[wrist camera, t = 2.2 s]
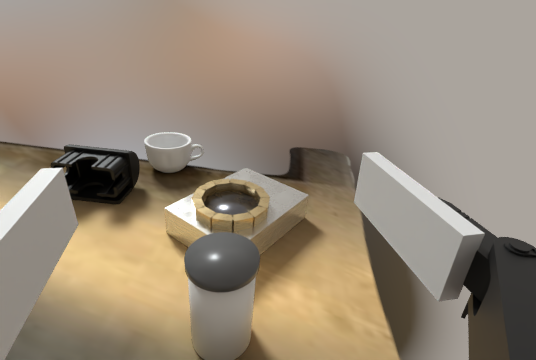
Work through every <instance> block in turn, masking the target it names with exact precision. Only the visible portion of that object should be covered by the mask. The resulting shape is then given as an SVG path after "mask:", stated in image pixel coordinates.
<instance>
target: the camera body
mask: <svg viewBox="0 0 536 360" xmlns="http://www.w3.org/2000/svg"><path fill="white" fill-rule="evenodd" d="M308 197H309V195H307V194H305V193H303V192H300V191H298V190H296V189H294V188H291V187H289V186H287V185H284V184H282V183H280V182H277V181H275V180H273V179H271V178H268V177H266V176H264V175H261V174H259V173H257V172H255V171H252V170H250V169H248V168H244V169H242V170H240V171H238V172H236V173H234V174H232V175H230V176H228V177H226V178H224V179H221V180H214V181H213V182H212V181H210V182H208V183H206V184H204V185H202V186H200V187H198V188H197V190H196V191H195V193H194V194H192V195H190V196H188V197H186V198H184V199H182V200H179V201H177V202H175V203H173V204H171V205H169V206H167V207H165V208H164V210H165V221H166V232H167V233H168V234H169V235H171V236H172V237H174V238H175V239H177V240H178V241H180V242H181V243H183V244H184V245H186V246H187V247H189V246H190V245H191V244H192V243H193V242H194V241H196V240H197V239H199V238H201V237H203V236H205V235H208V234H212V233H218V232H229V233H235V234H239V235H242V236H244V237H246V238H248V239H249V240H251V241H252V242H253V243H254V244H255V245H256V247H257V248H258V250H259V254H260V255H261V254H262V253H263V252H264V251H266V250H267V249H268V248H269V247H270V246H272V245H273V244H274V243H275V242H276V241H278V240H279V239H280V238H281V237H282V236H284V235H285V234H286V233H287V232H288V231H289V230H291V229H292V228H293V227H294V226H295V225H297V224H298V223H299V222H300V221H301V220H303V219H304V218H305V214H306V208H307V203H308Z"/></svg>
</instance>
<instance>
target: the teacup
mask: <svg viewBox="0 0 536 360" xmlns="http://www.w3.org/2000/svg"><path fill="white" fill-rule="evenodd" d="M196 147H199V148H201V154H200V155H198V156H191V153H192V151H193V150H194V149H195V148H196ZM145 148H146V153H147V157H148V161H149V163H150V164H151V165H152V166H153V167H154V168H155V169H156V170H158V171H161V172H164V173H174V172H178V171H180V170H181V169H183V168H184V167H185V166H186V165H187V164H188V162H189V161H191V160H195V159H197V158H199V157H201V156H202V155H203V153H204V151H203V147H202V146H200V145H197V144H195V145H191V139H190V137H189V136H187V135H184V134H181V133H174V132H165V133H157V134H153V135H150V136H148V137H147V138H146V139H145Z"/></svg>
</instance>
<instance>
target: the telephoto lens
mask: <svg viewBox="0 0 536 360" xmlns="http://www.w3.org/2000/svg"><path fill="white" fill-rule="evenodd" d="M184 261H185V272H186V274H187V276H188V284H189V301H190V318H191V335H192V344H193V347H194V349H195V351H196V352H197V354H198V355H199V356H200V357H202V358H203V359H205V360H235V359H236V358H238V357H239V356H241V355H242V354H243V353H244V352H245V350H246V349H247V347H248V345H249V343H250V339H251V328H252V317H253V305H254V293H255V281H256V275H257V273H258V270H259V263H260V254H259V250H258V248H257V247H256V245H255V244H254V243H253V242H252V241H251V240H249V239H248V238H246V237H244V236H242V235H239V234H235V233H229V232H218V233H212V234H208V235H205V236H203V237H201V238H199V239H197V240H196V241H194V242H193V243H192V244H191V245H190V246H189V248H188V249H187V251H186V253H185V260H184Z"/></svg>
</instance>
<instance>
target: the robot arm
mask: <svg viewBox="0 0 536 360" xmlns="http://www.w3.org/2000/svg"><path fill="white" fill-rule="evenodd" d="M354 203H355V204H356V205H357V206H358V207H359V209H360V210H361V211H362V212H363V213H364V214H365V216H366V217H367V218H368V219H369V220H370V221H371V223H372V224H373V225H374V226H375V227H376V229H377V230H378V231H379V232H380V233H381V234H382V235H383V237H384V238H385V239H386V240H387V242H388V243H389V244H390V245H391V246H392V247H393V248H394V250H395V251H396V252H397V253H398V254H399V256H400V257H401V258H402V259H403V260H404V261H405V263H406V264H407V265H408V266H409V267H410V268H411V270H412V271H413V272H414V273H415V274H416V276H417V277H418V278H419V279H420V280H421V281H422V283H423V284H424V285H425V286H426V287H427V289H428V290H429V291H430V292H431V293H432V295H433V296H434V297H435V298H436V299H437V300H438V301H445V300H451V299H458V297H459V294H460V292H461V290H462V287H463V285H464V286H466V288H467V289H468V290H469V291H470V292H471V295H470V298H469V300H468V302H467V304H466V307H465V309H464V311H463V314H462V316H461V317H462V318H465V317H466V315H467V314H468V321H469V322H468V327H469V360H536V248H535V247H534V246H532V245H530V244H527V243H526V242H524V241H520V240H518V239H514V238H509V237H499V238H497V237H496V236H495V235H493V234H492V233H491V232H489V231H488V230H486V229H485V228H483V227H482V226H481V225H480V224H478V223H477V222H476V221H474V220H473V219H472V218H471V219H470V218H469V216H468V215H466V214H465V213H462V212H461V210H459V209H458V208H457V207H455V206H454V205H453V204H451V203H449V202H447V201H445V200H443V199H440V198H437V197H436V196H435V195H433V194H432V193H431V192H429V191H428V190H427V189H425V188H424V187H423V186H421V185H420V184H419V183H418V182H416V181H415V180H414V179H412V178H411V177H410V176H408V175H407V174H405V173H404V172H403V171H402V170H400V169H399V168H398V167H396V166H395V165H394V164H392V163H391V162H390V161H388V160H387V159H386V158H384V157H383V156H382V155H380V154H379V153H378V152H373V153H363V155H362V162H361V167H360V172H359V178H358V183H357V189H356V194H355V200H354ZM77 226H78V221H77V218H76V214H75V211H74V207H73V203H72V200H71V196H70V193H69V189H68V186H67V182H66V179H65V175H64V172H63V168H47V169H40V170H39V172H38V173H37V174H36V175H35V176H34V177H33V178H32V179H31V180H30V181H29V182H28V183H27V184H26V185H25V186H24V187H23V188H22V189H21V190H20V191H19V192H18V193H17V194H16V195H15V196H14V197H13V198H12V199H11V200H10V201H9V202H8V203H7V204H6V205H5V206H4V207H3V208H2V209H1V210H0V360H4V359H5V357H6V356H7V354H8V352H9V350H10V348H11V347H12V345H13V343H14V341H15V339H16V337H17V336H18V334H19V332H20V330H21V328H22V326H23V325H24V323H25V321H26V319H27V317H28V315H29V314H30V312H31V310H32V308H33V306H34V305H35V303H36V301H37V299H38V297H39V295H40V294H41V292H42V290H43V288H44V286H45V284H46V283H47V281H48V279H49V277H50V275H51V274H52V272H53V270H54V268H55V266H56V264H57V263H58V261H59V259H60V257H61V255H62V253H63V252H64V250H65V248H66V246H67V244H68V243H69V241H70V239H71V237H72V235H73V233H74V232H75V230H76V228H77Z"/></svg>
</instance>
